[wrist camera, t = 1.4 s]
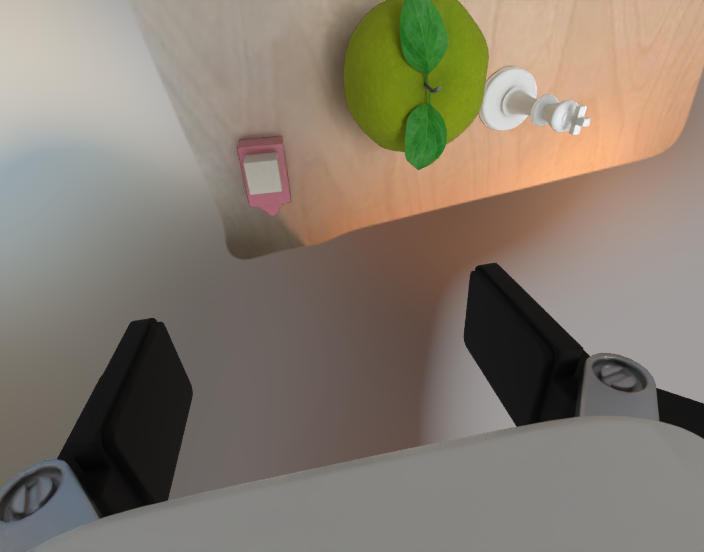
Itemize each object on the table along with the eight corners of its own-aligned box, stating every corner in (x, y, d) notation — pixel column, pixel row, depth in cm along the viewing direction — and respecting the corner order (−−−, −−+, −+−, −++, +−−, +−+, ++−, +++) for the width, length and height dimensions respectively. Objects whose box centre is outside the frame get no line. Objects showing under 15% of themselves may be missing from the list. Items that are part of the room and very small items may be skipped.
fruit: (339, 140, 31) (362, 179, 23) (332, 2, 26) (358, -12, 18) (444, 132, 32) (501, 166, 24) (456, -2, 27) (535, -16, 19)
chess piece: (539, 64, 31) (636, 76, 23) (526, 127, 34) (608, 158, 25) (482, 67, 30) (561, 81, 22) (474, 131, 33) (540, 165, 25)
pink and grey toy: (239, 139, 30) (233, 155, 26) (282, 135, 30) (282, 150, 27) (253, 208, 33) (251, 231, 29) (292, 204, 34) (294, 226, 30)
